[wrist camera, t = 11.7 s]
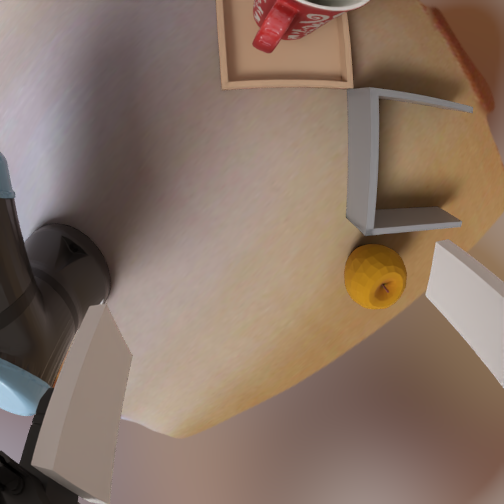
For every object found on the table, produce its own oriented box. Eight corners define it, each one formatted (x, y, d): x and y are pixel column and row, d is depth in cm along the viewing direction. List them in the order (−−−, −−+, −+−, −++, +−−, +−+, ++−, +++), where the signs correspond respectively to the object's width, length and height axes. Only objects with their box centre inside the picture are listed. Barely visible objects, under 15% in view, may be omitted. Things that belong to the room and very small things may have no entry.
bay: (346, 217, 38) (365, 235, 32) (347, 89, 30) (370, 87, 25) (436, 211, 39) (460, 226, 33) (444, 103, 31) (472, 107, 26)
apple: (395, 255, 41) (426, 286, 33) (356, 293, 44) (380, 330, 36) (365, 220, 38) (397, 249, 30) (322, 264, 40) (344, 301, 33)
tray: (221, 90, 29) (221, 88, 27) (214, -29, 22) (213, -38, 19) (344, 89, 30) (353, 88, 28) (333, -25, 22) (340, -32, 20)
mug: (270, -29, 22) (297, -89, 10) (336, 9, 24) (393, -30, 12) (211, 45, 26) (204, 4, 14) (282, 85, 29) (321, 69, 17)
